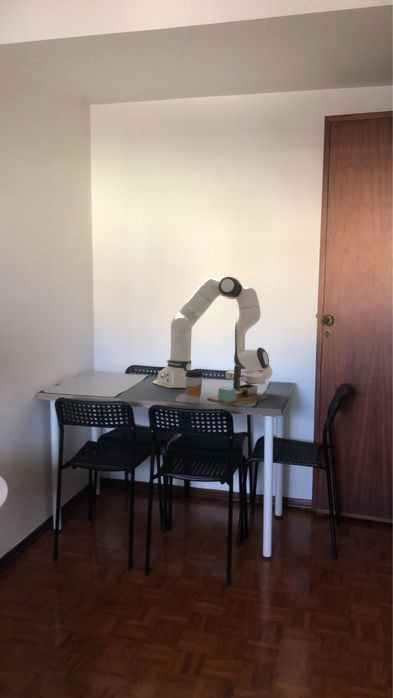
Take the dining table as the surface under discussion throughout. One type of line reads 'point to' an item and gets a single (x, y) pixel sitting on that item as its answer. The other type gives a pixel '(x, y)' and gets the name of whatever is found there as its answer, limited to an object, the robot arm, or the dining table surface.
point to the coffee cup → (193, 385)
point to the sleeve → (249, 390)
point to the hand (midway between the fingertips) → (236, 378)
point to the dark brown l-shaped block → (237, 383)
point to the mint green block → (227, 394)
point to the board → (239, 400)
